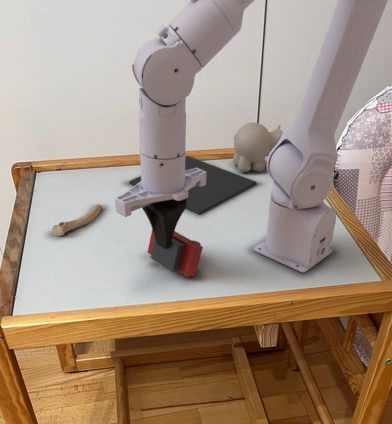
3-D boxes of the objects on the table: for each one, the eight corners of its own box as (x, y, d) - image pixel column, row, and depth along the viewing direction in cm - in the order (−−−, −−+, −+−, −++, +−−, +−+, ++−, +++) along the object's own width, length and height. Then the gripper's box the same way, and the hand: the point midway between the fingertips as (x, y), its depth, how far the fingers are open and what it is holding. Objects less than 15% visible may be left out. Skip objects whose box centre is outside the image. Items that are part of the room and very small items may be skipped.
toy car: (199, 275, 76) (206, 246, 74) (179, 278, 74) (187, 248, 72) (159, 251, 81) (165, 223, 79) (140, 253, 79) (145, 224, 76)
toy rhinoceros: (296, 172, 102) (302, 127, 96) (236, 176, 101) (239, 131, 95) (286, 157, 107) (291, 114, 102) (229, 161, 106) (231, 118, 100)
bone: (109, 211, 91) (107, 200, 90) (63, 239, 84) (61, 228, 83) (98, 207, 92) (96, 196, 91) (52, 235, 85) (49, 223, 84)
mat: (256, 184, 98) (256, 181, 98) (199, 214, 90) (199, 212, 89) (187, 158, 107) (187, 155, 107) (129, 183, 99) (129, 181, 98)
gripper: (139, 176, 60) (143, 276, 69) (225, 146, 67) (218, 239, 77) (101, 157, 63) (109, 254, 72) (187, 131, 71) (184, 221, 80)
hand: (163, 245), depth 75 cm, fingers closed, pressing on toy car
